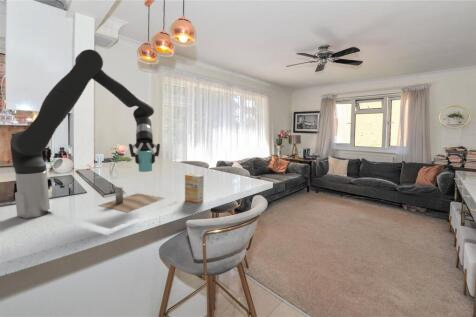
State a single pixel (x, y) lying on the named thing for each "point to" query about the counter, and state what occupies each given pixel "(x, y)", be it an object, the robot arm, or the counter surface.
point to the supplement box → (194, 187)
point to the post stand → (129, 201)
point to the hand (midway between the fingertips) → (145, 162)
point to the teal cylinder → (145, 161)
